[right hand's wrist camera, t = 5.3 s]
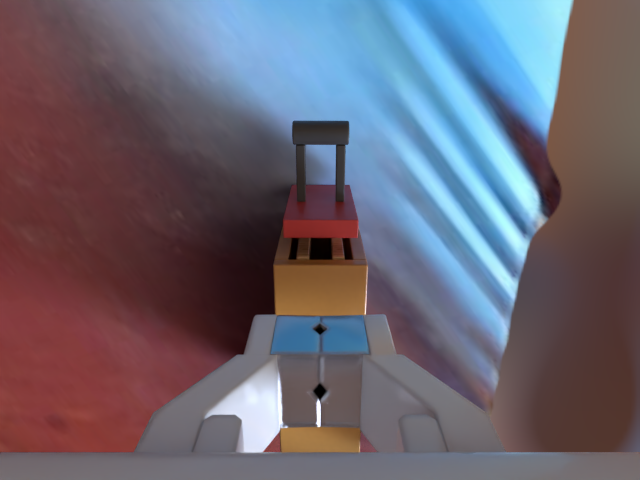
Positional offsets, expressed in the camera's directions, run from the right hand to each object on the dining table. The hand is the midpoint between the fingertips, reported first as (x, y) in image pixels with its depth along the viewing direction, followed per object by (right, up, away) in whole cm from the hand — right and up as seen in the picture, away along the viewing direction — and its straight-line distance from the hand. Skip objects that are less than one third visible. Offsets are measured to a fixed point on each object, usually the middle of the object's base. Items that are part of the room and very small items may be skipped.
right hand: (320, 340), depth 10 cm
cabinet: (0, -4, +30) cm, 30 cm away
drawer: (0, +2, +27) cm, 27 cm away
